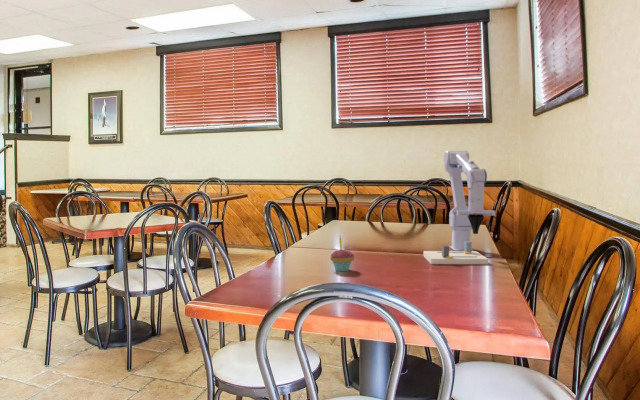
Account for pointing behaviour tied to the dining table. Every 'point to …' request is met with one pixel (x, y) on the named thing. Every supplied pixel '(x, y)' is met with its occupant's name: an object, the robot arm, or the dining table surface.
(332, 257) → the cupcake
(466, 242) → the grey rectangular block
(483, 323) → the dining table surface
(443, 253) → the gray tab
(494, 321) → the dining table surface
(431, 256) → the switch board
